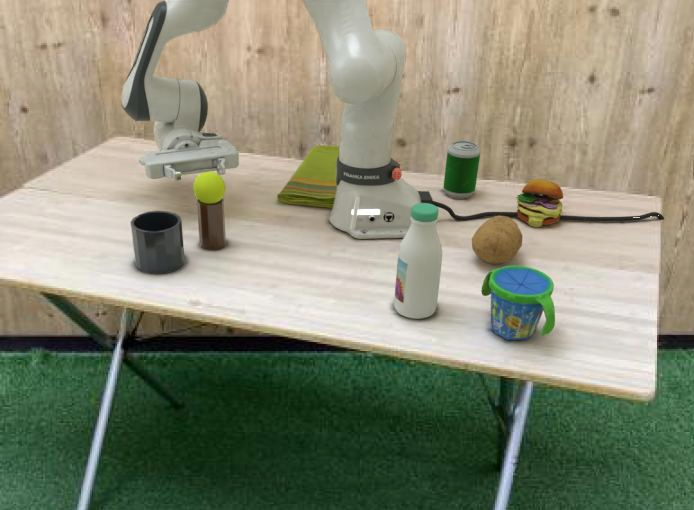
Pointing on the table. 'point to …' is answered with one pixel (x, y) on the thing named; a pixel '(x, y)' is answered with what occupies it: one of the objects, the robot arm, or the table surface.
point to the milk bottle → (419, 265)
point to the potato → (497, 240)
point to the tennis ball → (209, 187)
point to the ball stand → (211, 225)
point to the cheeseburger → (540, 203)
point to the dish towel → (313, 179)
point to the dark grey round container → (158, 242)
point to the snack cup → (519, 301)
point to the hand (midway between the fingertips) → (200, 174)
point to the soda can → (461, 169)
